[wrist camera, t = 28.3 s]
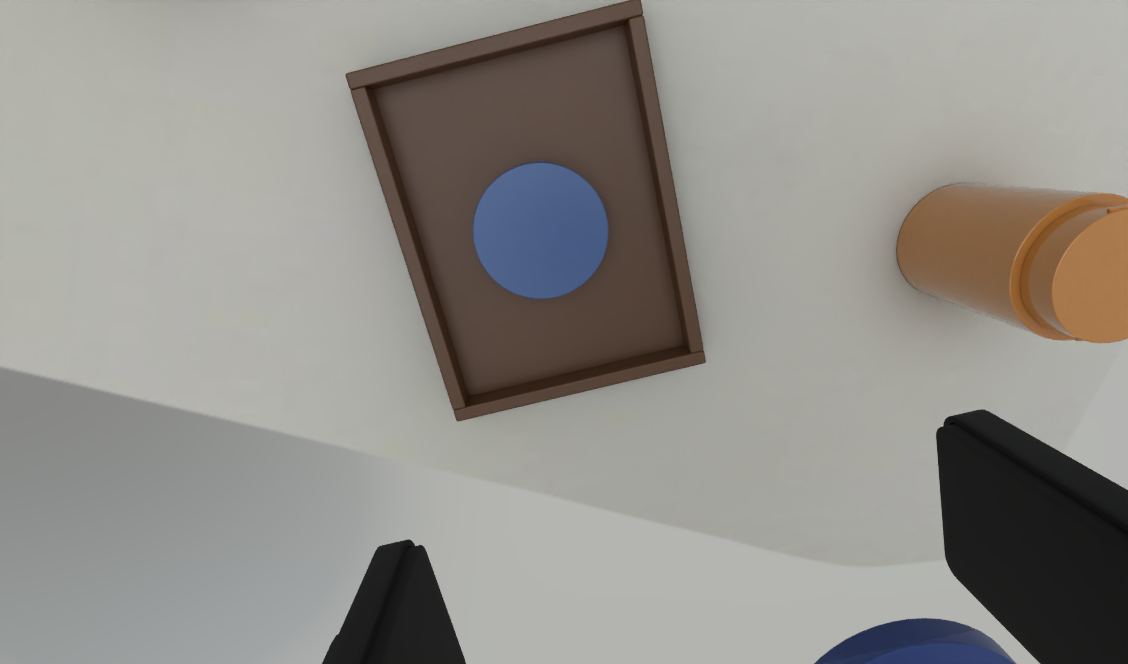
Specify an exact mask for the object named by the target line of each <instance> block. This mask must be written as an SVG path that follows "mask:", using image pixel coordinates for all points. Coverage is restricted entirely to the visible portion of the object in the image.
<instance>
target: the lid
mask: <svg viewBox="0 0 1128 664" xmlns="http://www.w3.org/2000/svg"><path fill="white" fill-rule="evenodd" d="M473 240H474V245H475V249H476V252H477V255H478V258H479V260H480V262H481V264H482V265H483V267H484V268H485V270H486V271H487V273H488V274H489V275H490V276H491V277H492V278H493V279H494V280H495V281H496V282H497V283H498V284H499V285H501V286H502V287H504V288H505V289H507V290H509V291H511V292H512V293H515V294H517V295H520V296H524V297H528V298H535V299H548V298H555V297H558V296H562V295H565V294H567V293H570V292H572V291H574V290H575V289H577V288H579V287H580V286H581V285H583V284H584V283H585V282H586V281H587V280H588V279H589V278H590V277H591V276H592V275H593V274H594V272H595V271H596V270H597V268H598V267H599V265H600V263H601V261H602V259H603V257H604V254H605V251H606V247H607V243H608V219H607V215H606V211H605V208H604V205H603V203H602V201H601V199H600V197H599V195H598V194H597V192H596V191H595V190H594V188H593V187H592V186H591V185H590V184H589V183H588V182H587V181H586V180H585V179H584V178H583V177H582V176H580V175H579V174H578V173H576V172H574V171H572V170H571V169H569V168H567V167H564V166H562V165H559V164H555V163H550V162H545V160H542V162H531V163H525V164H522V165H519V166H516V167H514V168H512V169H510V170H508V171H506V172H505V173H503V174H502V175H500V176H499V177H498V178H497V179H495V180H494V181H493V182H492V183H491V184H490V186H489V187H488V188H487V189H486V191H485V192H484V194H483V195H482V197H481V199H480V201H479V203H478V205H477V208H476V211H475V215H474V220H473Z"/></svg>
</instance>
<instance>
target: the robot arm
mask: <svg viewBox="0 0 1128 664" xmlns="http://www.w3.org/2000/svg"><path fill="white" fill-rule="evenodd" d="M936 440H937V453H938V466H939V480H940V493H941V507H942V520H943V534H944V547H945V557H946V560H947V563H948V566H949V568H950V570H951V571H952V573H953V574H954V576H955V577H956V578H957V579H958V580H959V581H960V582H961V583H962V584H963V585H964V586H965V587H966V588H967V589H968V590H969V591H970V592H971V593H972V594H973V596H974V597H975V598H976V599H978V601H979V602H980V603H981V604H982V605H983V606H984V607H985V608H986V609H987V610H988V611H989V612H990V613H991V614H992V615H993V616H994V617H995V618H996V619H997V620H998V621H999V622H1000V623H1001V624H1002V625H1003V626H1004V627H1005V628H1006V629H1007V630H1008V631H1009V632H1010V633H1011V634H1012V635H1013V636H1014V637H1015V638H1016V639H1017V640H1018V641H1019V642H1020V643H1021V644H1022V645H1023V646H1024V648H1025V649H1026V650H1027V651H1028V652H1029V653H1030V654H1031V655H1032V656H1033V657H1034V658H1035V659H1036V660H1037V661H1038V662H1039V663H1040V664H1128V490H1126V489H1125V488H1123V487H1121V486H1119V485H1118V484H1116V483H1114V482H1112V481H1110V480H1109V479H1107V478H1105V477H1103V476H1102V475H1100V474H1098V473H1096V472H1094V471H1093V470H1091V469H1089V468H1087V467H1086V466H1084V465H1082V464H1081V463H1079V462H1077V461H1075V460H1073V459H1072V458H1070V457H1068V456H1066V455H1065V454H1063V453H1061V452H1059V451H1058V450H1056V449H1054V448H1052V447H1051V446H1049V445H1047V444H1045V443H1043V442H1042V441H1040V440H1038V439H1036V438H1035V437H1033V436H1031V435H1029V434H1028V433H1026V432H1024V431H1022V430H1020V429H1019V428H1017V427H1015V426H1013V425H1012V424H1010V423H1008V422H1006V421H1005V420H1003V419H1001V418H999V417H997V416H996V415H994V414H992V413H990V412H989V411H986V410H976V411H972V412H967V413H963V414H958V415H954V416H950V417H948V418H946V419H945V422H944V427H940V428H939V429H938V430H937V433H936ZM322 664H466V663H465V659H464V656H463V653H462V650H461V647H460V645H459V642H458V639H457V637H456V633H455V631H454V628H453V625H452V623H451V619H450V617H449V614H448V611H447V609H446V605H445V603H444V600H443V597H442V594H441V592H440V589H439V586H438V583H437V580H436V577H435V575H434V572H433V569H432V566H431V563H430V561H429V558H428V555H427V552H426V550H425V548H424V547H423V546H422V545H419V546H415V545H414V543H413V542H412V541H411V540H404V541H400V542H395V543H391V544H387V545H382V546H379V547H378V548H377V550H376V551H375V554H374V556H373V558H372V560H371V563H370V565H369V567H368V569H367V572H366V574H365V576H364V578H363V581H362V583H361V585H360V587H359V590H358V592H357V594H356V596H355V599H354V601H353V603H352V605H351V608H350V610H349V612H348V614H347V617H346V619H345V621H344V624H343V626H342V628H341V630H340V632H339V634H338V635H336V637H335V638H334V640H333V641H332V643H331V645H330V647H329V650H328V652H327V654H326V656H325V658H324V661H323V663H322Z"/></svg>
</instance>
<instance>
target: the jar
mask: <svg viewBox="0 0 1128 664" xmlns="http://www.w3.org/2000/svg"><path fill="white" fill-rule="evenodd" d="M897 258H898V263H899V267H900V269H901V272H902V274H903V275H904V277H905V278H906V280H907V281H908V282H909V283H910V284H911V285H912V286H913V287H914V288H916V289H917V290H919V291H921V292H923V293H925V294H928V295H931V296H933V297H936V298H939V299H941V300H944V301H947V302H950V303H952V304H955V305H958V306H960V307H963V308H966V309H969V310H971V311H974V312H977V313H979V314H982V315H985V316H988V317H990V318H993V319H996V320H998V321H1001V322H1004V323H1007V324H1009V325H1012V326H1015V327H1017V328H1020V329H1023V330H1025V331H1028V332H1031V333H1034V334H1036V335H1039V336H1042V337H1044V338H1048V339H1053V340H1076V341H1087V342H1092V343H1111V342H1116V341H1121V340H1124V339H1127V338H1128V198H1126V197H1123V196H1120V195H1116V194H1109V193H1097V192H1084V191H1070V190H1056V189H1043V188H1029V187H1015V186H1002V185H988V184H975V183H956V184H951V185H948V186H944V187H942V188H939V189H937V190H935V191H934V192H932V193H930V194H929V195H927V196H926V197H925V198H923V199H922V200H921V201H920V202H919V203H918V204H917V205H916V206H915V207H914V208H913V209H912V210H911V212H910V213H909V215H908V216H907V218H906V219H905V221H904V223H903V225H902V228H901V230H900V233H899V237H898V243H897Z"/></svg>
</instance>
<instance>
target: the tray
mask: <svg viewBox="0 0 1128 664" xmlns="http://www.w3.org/2000/svg"><path fill="white" fill-rule="evenodd" d="M642 15H643V10H642V4H641V0H629V1H625V2H621V3H617V4H613V5H609V6H605V7H602V8H598V9H594V10H590V11H586V12H582V13H578V14H575V15H571V16H567V17H563V18H559V19H555V20H551V21H547V22H544V23H540V24H536V25H532V26H528V27H524V28H520V29H516V30H513V31H509V32H505V33H501V34H497V35H493V36H489V37H486V38H482V39H478V40H474V41H470V42H466V43H462V44H458V45H455V46H451V47H447V48H443V49H439V50H435V51H431V52H427V53H424V54H420V55H416V56H412V57H408V58H404V59H400V60H396V61H393V62H389V63H385V64H381V65H377V66H373V67H369V68H366V69H362V70H358V71H354V72H350V73H347V74H346V79H347V82H348V85H349V88H350V89H351V94H352V97H353V101H354V104H355V107H356V110H357V113H358V116H359V119H360V122H361V125H362V129H363V132H364V135H365V138H366V141H367V144H368V147H369V150H370V153H371V156H372V160H373V163H374V166H375V169H376V172H377V175H378V178H379V181H380V184H381V188H382V191H383V194H384V197H385V200H386V203H387V206H388V209H389V212H390V216H391V219H392V222H393V225H394V228H395V231H396V234H397V237H398V240H399V243H400V247H401V250H402V253H403V256H404V259H405V262H406V265H407V268H408V271H409V275H410V278H411V281H412V284H413V287H414V290H415V293H416V296H417V299H418V302H419V306H420V309H421V312H422V315H423V318H424V321H425V324H426V327H427V330H428V334H429V337H430V340H431V343H432V346H433V349H434V352H435V355H436V358H437V362H438V365H439V368H440V371H441V374H442V377H443V380H444V383H445V386H446V389H447V393H448V396H449V399H450V402H451V405H452V408H453V410H454V414H455V417H456V420H457V421H461V420H466V419H470V418H474V417H478V416H483V415H487V414H491V413H495V412H499V411H504V410H508V409H512V408H516V407H521V406H525V405H529V404H533V403H537V402H542V401H546V400H550V399H554V398H559V397H563V396H567V395H571V394H575V393H580V392H584V391H588V390H592V389H597V388H601V387H605V386H609V385H613V384H618V383H622V382H626V381H630V380H635V379H639V378H643V377H647V376H651V375H656V374H660V373H664V372H668V371H673V370H677V369H681V368H685V367H689V366H694V365H698V364H702V363H705V362H706V360H705V355H704V351H703V343H702V338H701V332H700V327H699V321H698V316H697V310H696V305H695V299H694V293H693V288H692V282H691V277H690V271H689V266H688V260H687V254H686V249H685V243H684V238H683V232H682V227H681V221H680V216H679V210H678V204H677V199H676V193H675V188H674V182H673V177H672V171H671V166H670V160H669V154H668V149H667V143H666V138H665V132H664V127H663V121H662V116H661V110H660V104H659V99H658V93H657V88H656V82H655V77H654V71H653V65H652V60H651V54H650V49H649V43H648V38H647V32H646V27H645V21H644V17H643V16H642ZM542 160H545V162H550V163H555V164H559V165H562V166H564V167H567V168H569V169H571V170H572V171H574V172H576V173H578V174H579V175H580V176H582V177H583V178H584V179H585V180H586V181H587V182H588V183H589V184H590V185H591V186H592V187H593V188H594V190H595V191H596V192H597V194H598V195H599V197H600V199H601V201H602V203H603V205H604V208H605V211H606V215H607V219H608V243H607V247H606V251H605V254H604V257H603V259H602V261H601V263H600V265H599V267H598V268H597V270H596V271H595V272H594V274H593V275H592V276H591V277H590V278H589V279H588V280H587V281H586V282H585V283H584V284H583V285H581V286H580V287H579V288H577V289H575V290H574V291H572V292H570V293H567V294H565V295H562V296H558V297H555V298H548V299H535V298H528V297H524V296H520V295H517V294H515V293H512V292H511V291H509V290H507V289H505V288H504V287H502V286H501V285H499V284H498V283H497V282H496V281H495V280H494V279H493V278H492V277H491V276H490V275H489V274H488V273H487V271H486V270H485V268H484V267H483V265H482V264H481V262H480V260H479V258H478V255H477V252H476V249H475V245H474V240H473V220H474V215H475V211H476V208H477V205H478V203H479V201H480V199H481V197H482V195H483V194H484V192H485V191H486V189H487V188H488V187H489V186H490V184H491V183H492V182H493V181H494V180H495V179H497V178H498V177H499V176H500V175H502V174H503V173H505V172H506V171H508V170H510V169H512V168H514V167H516V166H519V165H522V164H525V163H531V162H542Z"/></svg>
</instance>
